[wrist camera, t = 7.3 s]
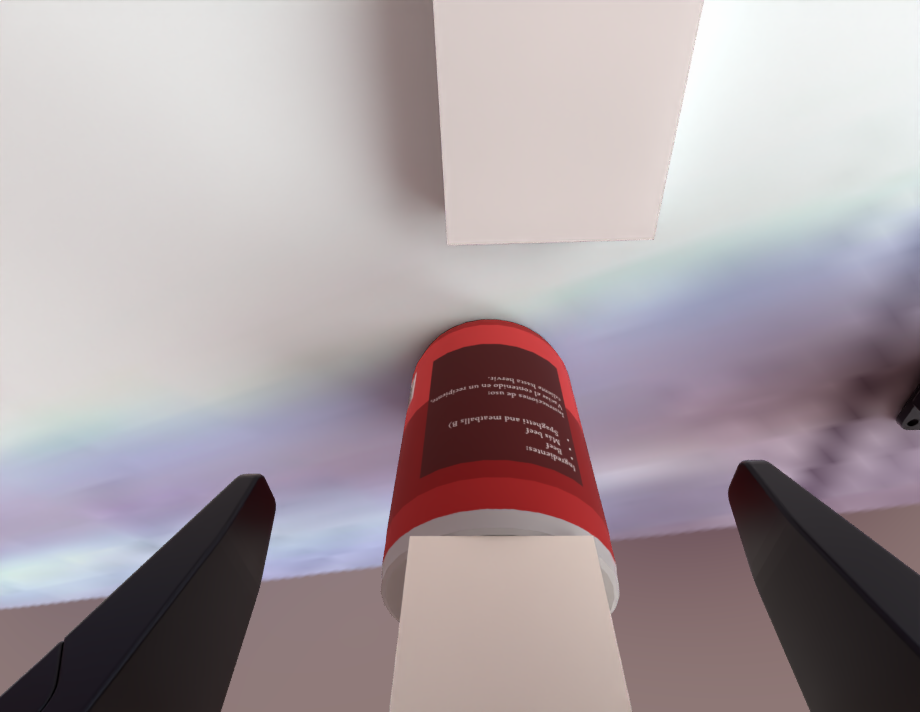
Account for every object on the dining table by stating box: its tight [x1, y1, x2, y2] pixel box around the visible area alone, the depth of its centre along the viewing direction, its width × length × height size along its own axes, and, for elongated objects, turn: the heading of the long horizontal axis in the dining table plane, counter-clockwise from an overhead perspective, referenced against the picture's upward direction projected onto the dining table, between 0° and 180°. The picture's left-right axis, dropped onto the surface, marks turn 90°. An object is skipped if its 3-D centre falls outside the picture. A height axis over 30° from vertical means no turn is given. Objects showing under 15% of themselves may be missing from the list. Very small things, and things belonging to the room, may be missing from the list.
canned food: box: [381, 320, 619, 623], centre depth 20 cm, size 8×8×11 cm
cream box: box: [389, 536, 632, 712], centre depth 13 cm, size 5×7×5 cm
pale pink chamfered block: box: [433, 0, 704, 245], centre depth 15 cm, size 7×9×3 cm
